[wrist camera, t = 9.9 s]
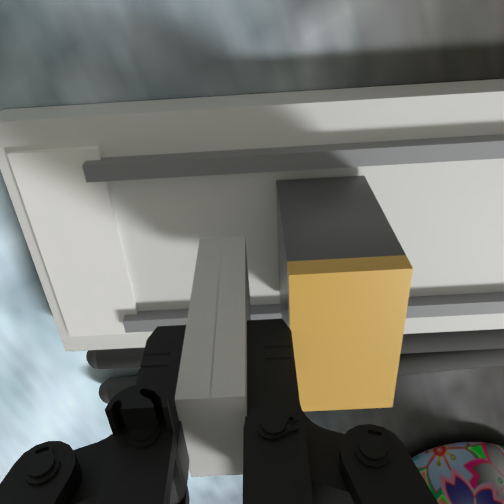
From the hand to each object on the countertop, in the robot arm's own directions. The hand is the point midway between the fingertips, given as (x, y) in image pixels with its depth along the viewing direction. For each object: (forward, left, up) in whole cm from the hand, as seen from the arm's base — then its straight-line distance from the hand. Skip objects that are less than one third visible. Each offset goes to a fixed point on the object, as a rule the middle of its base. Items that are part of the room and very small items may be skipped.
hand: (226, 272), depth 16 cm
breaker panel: (+6, 0, -4) cm, 7 cm away
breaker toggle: (+3, 0, -2) cm, 4 cm away
